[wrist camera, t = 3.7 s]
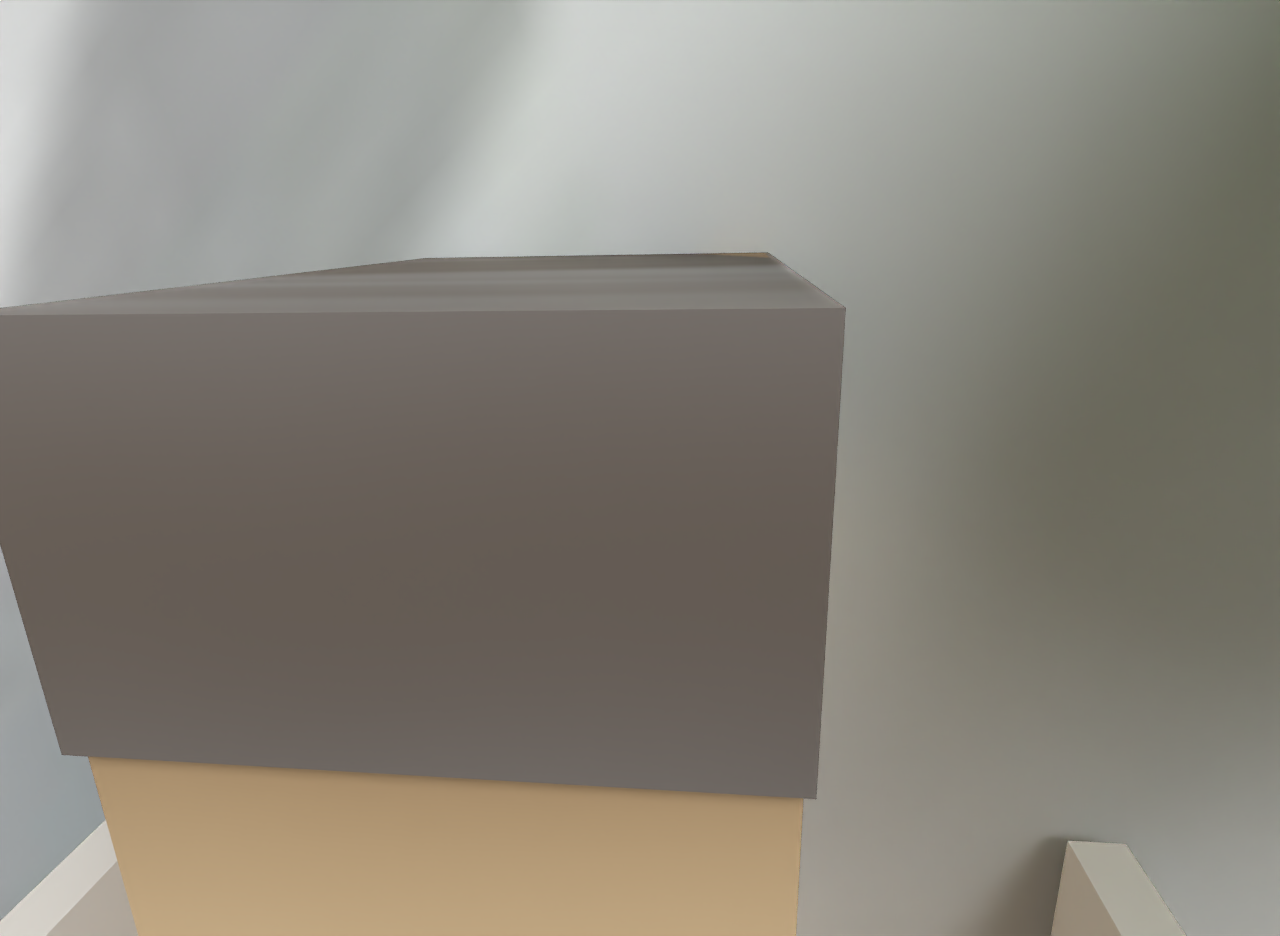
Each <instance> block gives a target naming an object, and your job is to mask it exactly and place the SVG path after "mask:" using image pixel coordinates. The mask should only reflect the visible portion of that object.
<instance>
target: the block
mask: <svg viewBox="0 0 1280 936" xmlns="http://www.w3.org/2000/svg"><path fill="white" fill-rule="evenodd" d="M845 311H846V308H845V307H844V306H842V305H841V304H839V303H838V302H837V301H835V300H834V299H832V298H831V297H830V296H828V295H827V294H825V293H824V292H823V291H821V290H820V289H818V288H817V287H816V286H814V285H813V284H811V283H810V282H809V281H807V280H806V279H804V278H803V277H802V276H800V275H799V274H797V273H796V272H795V271H793V270H792V269H790V268H789V267H788V266H786V265H785V264H783V263H782V262H781V261H779V260H778V259H776V258H775V257H774V256H772V255H771V254H769V253H713V254H652V255H591V256H530V257H469V258H423V259H415V260H406V261H397V262H389V263H380V264H372V265H363V266H355V267H346V268H338V269H329V270H321V271H312V272H303V273H295V274H286V275H278V276H269V277H261V278H252V279H244V280H235V281H227V282H218V283H210V284H201V285H192V286H184V287H175V288H167V289H158V290H150V291H141V292H133V293H124V294H116V295H107V296H98V297H90V298H81V299H73V300H64V301H56V302H47V303H39V304H30V305H22V306H13V307H5V308H0V545H1V549H2V552H3V556H4V559H5V562H6V566H7V569H8V573H9V576H10V579H11V583H12V586H13V590H14V593H15V597H16V600H17V603H18V607H19V610H20V614H21V617H22V620H23V624H24V627H25V631H26V634H27V637H28V641H29V644H30V648H31V651H32V655H33V658H34V661H35V665H36V668H37V672H38V675H39V678H40V682H41V685H42V689H43V692H44V695H45V699H46V702H47V706H48V709H49V713H50V716H51V719H52V723H53V726H54V730H55V733H56V736H57V740H58V743H59V747H60V750H61V754H62V755H73V756H88V758H89V762H90V765H91V769H92V772H93V776H94V779H95V783H96V787H97V790H98V794H99V797H100V801H101V804H102V808H103V811H104V815H105V819H106V822H107V826H108V829H109V833H110V836H111V840H112V844H113V847H114V851H115V854H116V858H117V861H118V865H119V868H120V872H121V876H122V879H123V883H124V886H125V890H126V893H127V897H128V900H129V904H130V908H131V911H132V915H133V918H134V922H135V925H136V929H137V932H138V936H796V925H797V906H798V888H799V869H800V850H801V832H802V813H803V798H805V799H816V794H817V778H818V761H819V744H820V728H821V711H822V694H823V678H824V661H825V644H826V628H827V611H828V594H829V578H830V561H831V544H832V528H833V511H834V495H835V478H836V461H837V445H838V428H839V411H840V395H841V378H842V361H843V345H844V328H845Z"/></svg>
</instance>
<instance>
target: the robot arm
mask: <svg viewBox="0 0 1280 936" xmlns="http://www.w3.org/2000/svg"><path fill="white" fill-rule="evenodd" d="M0 936H138V932H137V929H136V925H135V922H134V918H133V915H132V911H131V908H130V904H129V900H128V897H127V893H126V890H125V886H124V883H123V879H122V876H121V872H120V868H119V865H118V861H117V858H116V854H115V851H114V847H113V844H112V840H111V836H110V833H109V829H108V826H107V822H106V820H105V821H104V822H103V823H102V824H101V825H100V826H99V827H98V828H97V829H95V830H94V831H93V832H92V833H91V834H90V835H89V836H88V837H87V838H86V839H85V840H84V841H83V842H82V843H81V844H80V845H79V846H78V847H77V848H76V849H75V850H74V851H73V852H72V853H71V854H69V855H68V856H67V857H66V858H65V859H64V860H63V861H62V862H61V863H60V864H59V865H58V866H57V867H56V868H55V869H54V870H53V871H52V872H51V873H50V874H49V875H48V876H47V877H46V878H45V879H43V880H42V881H41V882H40V883H39V884H38V885H37V886H36V887H35V888H34V889H33V890H32V891H31V892H30V893H29V894H28V895H27V896H26V897H25V898H24V899H23V900H22V901H21V902H20V903H19V904H17V905H16V906H15V907H14V908H13V909H12V910H11V911H10V912H9V913H8V914H7V915H6V916H5V917H4V918H3V919H2V920H1V921H0ZM1051 936H1186V934H1185V933H1184V931H1183V930H1182V928H1181V927H1180V925H1179V924H1178V922H1177V921H1176V919H1175V918H1174V916H1173V914H1172V913H1171V911H1170V910H1169V908H1168V907H1167V905H1166V904H1165V902H1164V901H1163V899H1162V898H1161V896H1160V895H1159V893H1158V892H1157V890H1156V889H1155V887H1154V886H1153V884H1152V883H1151V881H1150V880H1149V878H1148V877H1147V875H1146V873H1145V872H1144V870H1143V869H1142V867H1141V866H1140V864H1139V863H1138V861H1137V860H1136V858H1135V857H1134V855H1133V854H1132V852H1131V851H1130V849H1129V848H1128V846H1127V845H1126V844H1119V843H1102V842H1084V841H1067V847H1066V853H1065V858H1064V864H1063V869H1062V875H1061V881H1060V886H1059V892H1058V897H1057V903H1056V909H1055V914H1054V920H1053V925H1052V931H1051Z"/></svg>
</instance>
